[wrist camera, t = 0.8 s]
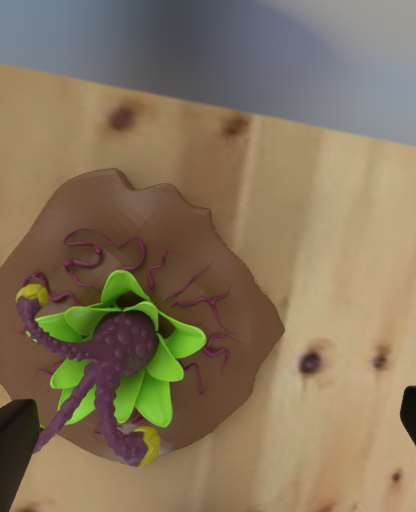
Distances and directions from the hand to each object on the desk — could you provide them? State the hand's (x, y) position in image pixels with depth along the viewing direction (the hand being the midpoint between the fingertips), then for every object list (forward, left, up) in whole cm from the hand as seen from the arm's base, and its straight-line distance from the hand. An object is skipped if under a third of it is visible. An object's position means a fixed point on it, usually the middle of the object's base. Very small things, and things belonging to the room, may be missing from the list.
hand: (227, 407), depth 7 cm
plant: (-3, +5, -15) cm, 16 cm away
